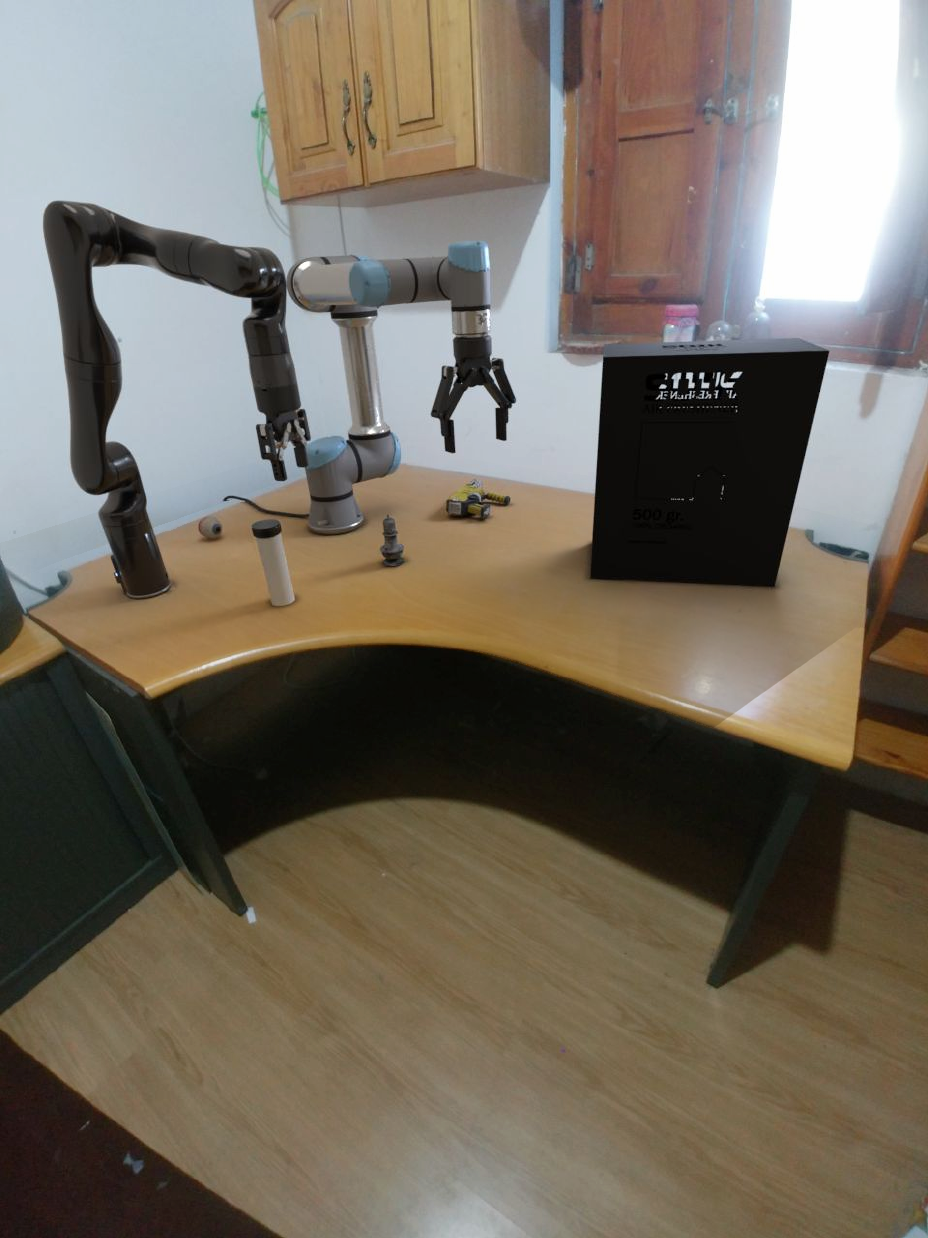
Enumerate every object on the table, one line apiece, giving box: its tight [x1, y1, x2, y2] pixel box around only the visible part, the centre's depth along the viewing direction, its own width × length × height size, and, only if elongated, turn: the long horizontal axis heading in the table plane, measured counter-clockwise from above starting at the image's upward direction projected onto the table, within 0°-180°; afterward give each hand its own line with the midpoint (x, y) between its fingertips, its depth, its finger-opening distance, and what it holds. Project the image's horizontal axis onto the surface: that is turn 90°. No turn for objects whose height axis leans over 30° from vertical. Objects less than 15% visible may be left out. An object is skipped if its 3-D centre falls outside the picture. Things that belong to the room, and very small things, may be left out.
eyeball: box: [197, 516, 223, 540], centre depth 164 cm, size 6×6×6 cm
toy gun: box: [445, 478, 511, 520], centre depth 176 cm, size 5×24×15 cm
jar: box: [255, 532, 296, 607], centre depth 127 cm, size 5×5×17 cm
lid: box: [251, 518, 283, 538], centre depth 123 cm, size 6×6×2 cm
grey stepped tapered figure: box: [379, 514, 405, 567], centre depth 143 cm, size 6×6×12 cm
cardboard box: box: [589, 337, 830, 587], centre depth 126 cm, size 38×20×45 cm, turn 78°
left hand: (292, 473), depth 113 cm, fingers open, 8 cm apart
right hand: (476, 445), depth 127 cm, fingers open, 13 cm apart
